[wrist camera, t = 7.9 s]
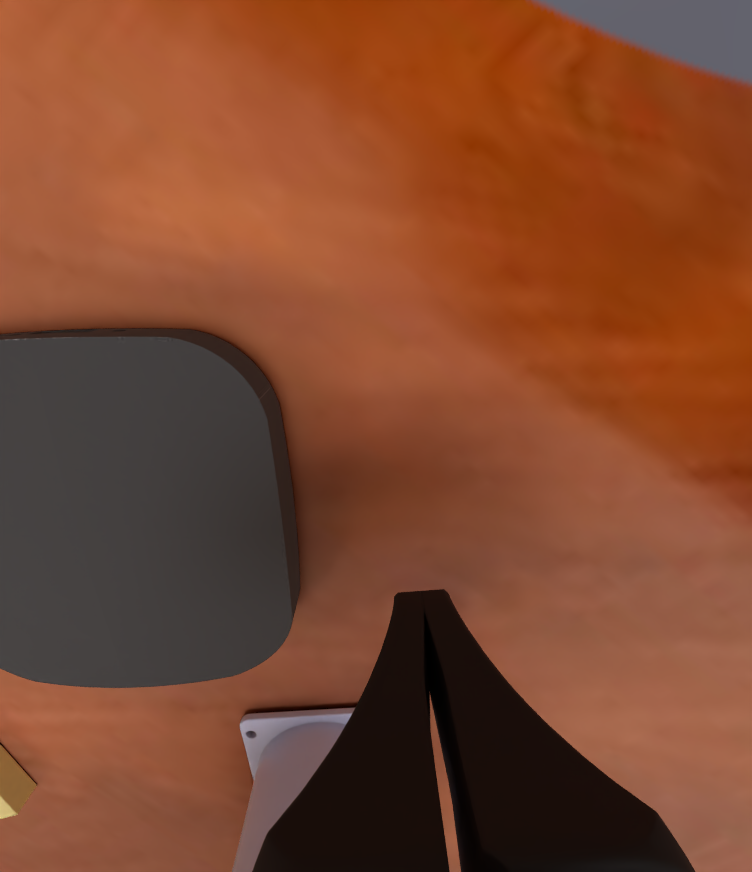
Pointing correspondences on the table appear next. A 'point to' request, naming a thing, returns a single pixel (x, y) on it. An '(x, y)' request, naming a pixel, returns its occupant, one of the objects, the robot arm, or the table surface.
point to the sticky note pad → (13, 785)
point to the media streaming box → (141, 509)
